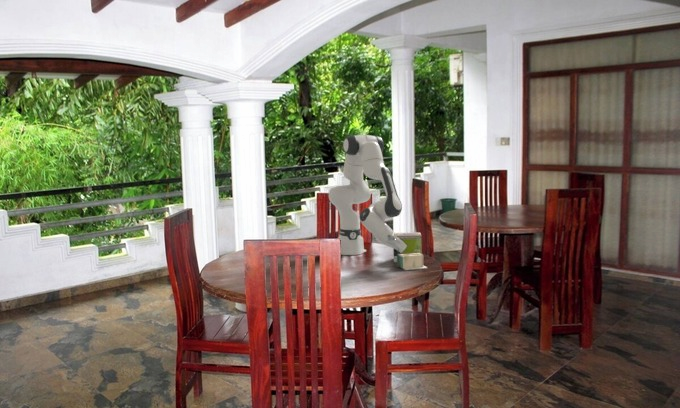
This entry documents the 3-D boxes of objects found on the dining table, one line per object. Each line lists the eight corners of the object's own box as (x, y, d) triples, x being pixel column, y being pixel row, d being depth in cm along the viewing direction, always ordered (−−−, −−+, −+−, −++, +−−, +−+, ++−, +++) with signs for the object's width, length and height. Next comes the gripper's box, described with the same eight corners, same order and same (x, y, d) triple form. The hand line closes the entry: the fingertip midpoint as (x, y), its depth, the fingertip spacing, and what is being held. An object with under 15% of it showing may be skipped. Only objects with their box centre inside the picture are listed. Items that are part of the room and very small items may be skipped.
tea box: (421, 258, 322) (421, 231, 320) (421, 263, 312) (422, 235, 310) (393, 258, 323) (393, 231, 321) (393, 262, 313) (393, 235, 311)
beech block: (397, 254, 304) (418, 252, 307) (397, 265, 305) (418, 264, 308) (401, 256, 298) (423, 255, 301) (401, 268, 299) (423, 266, 302)
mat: (397, 265, 307) (397, 264, 307) (419, 263, 310) (419, 262, 310) (405, 270, 297) (405, 269, 297) (427, 268, 300) (427, 267, 300)
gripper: (398, 232, 288) (415, 250, 293) (378, 226, 306) (394, 243, 311) (390, 242, 286) (407, 260, 292) (370, 235, 305) (387, 252, 310)
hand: (400, 251), depth 302 cm, fingers closed
